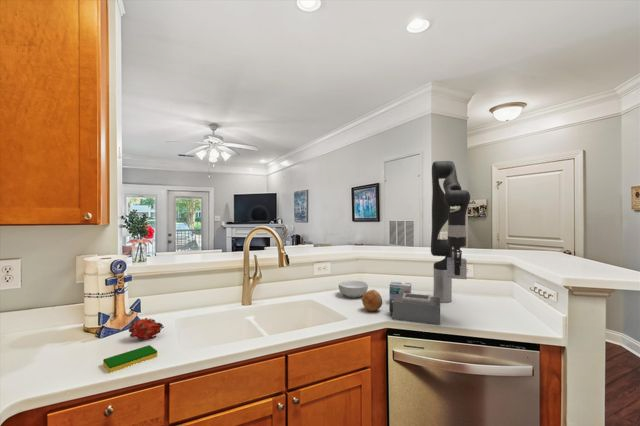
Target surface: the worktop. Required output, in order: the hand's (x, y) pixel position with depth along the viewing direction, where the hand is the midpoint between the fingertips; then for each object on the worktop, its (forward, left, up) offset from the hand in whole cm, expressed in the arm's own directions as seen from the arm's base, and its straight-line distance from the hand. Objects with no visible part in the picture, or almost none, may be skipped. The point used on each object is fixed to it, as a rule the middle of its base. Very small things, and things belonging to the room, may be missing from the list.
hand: (456, 273), depth 135 cm
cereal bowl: (-24, -53, -21) cm, 62 cm away
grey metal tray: (0, -17, -21) cm, 27 cm away
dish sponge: (+75, -103, -22) cm, 129 cm away
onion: (-2, -38, -21) cm, 43 cm away
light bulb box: (-18, -26, -21) cm, 38 cm away
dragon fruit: (+60, -114, -21) cm, 130 cm away
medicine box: (0, 0, -2) cm, 2 cm away
